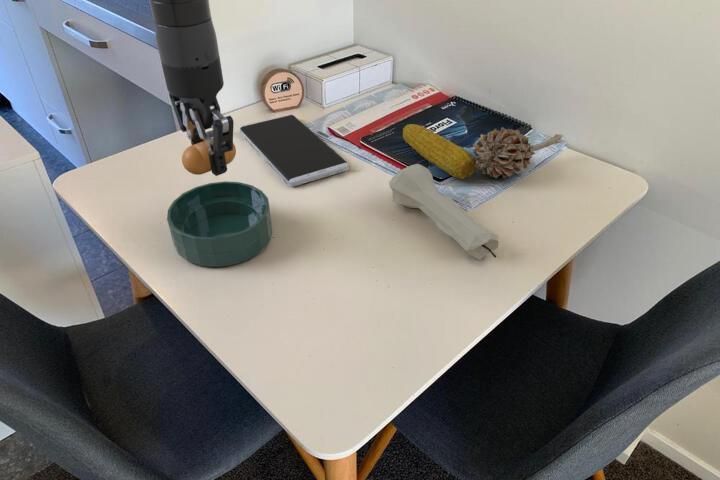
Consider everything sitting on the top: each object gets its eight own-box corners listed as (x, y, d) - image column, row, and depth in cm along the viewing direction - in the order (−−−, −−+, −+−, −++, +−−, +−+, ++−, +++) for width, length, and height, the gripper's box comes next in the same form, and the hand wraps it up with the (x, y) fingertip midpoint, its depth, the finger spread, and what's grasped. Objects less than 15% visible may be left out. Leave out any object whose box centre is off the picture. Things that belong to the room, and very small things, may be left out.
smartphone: (292, 119, 123) (292, 112, 122) (351, 171, 105) (351, 163, 104) (239, 132, 117) (238, 125, 116) (291, 189, 100) (290, 181, 98)
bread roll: (194, 183, 76) (188, 157, 73) (179, 171, 79) (173, 145, 76) (243, 164, 81) (239, 138, 78) (227, 153, 83) (223, 128, 80)
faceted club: (419, 182, 100) (515, 257, 85) (384, 205, 98) (476, 286, 83) (414, 146, 94) (518, 221, 79) (376, 170, 92) (475, 252, 76)
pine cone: (489, 196, 99) (498, 149, 93) (456, 173, 105) (463, 128, 99) (569, 166, 108) (583, 121, 101) (535, 146, 114) (545, 103, 108)
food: (477, 179, 103) (482, 152, 100) (455, 187, 101) (459, 160, 97) (412, 136, 117) (414, 111, 113) (392, 143, 115) (393, 117, 111)
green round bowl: (173, 275, 80) (164, 245, 77) (176, 215, 93) (169, 187, 89) (277, 261, 83) (273, 231, 80) (267, 204, 96) (264, 176, 92)
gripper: (138, 46, 71) (166, 157, 81) (191, 77, 63) (214, 195, 73) (188, 35, 75) (208, 142, 85) (244, 62, 67) (258, 176, 77)
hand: (211, 166), depth 79 cm, fingers closed on bread roll, 4 cm apart
